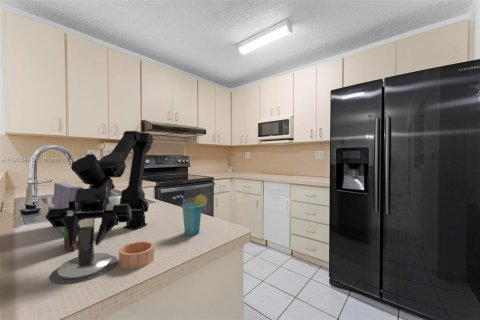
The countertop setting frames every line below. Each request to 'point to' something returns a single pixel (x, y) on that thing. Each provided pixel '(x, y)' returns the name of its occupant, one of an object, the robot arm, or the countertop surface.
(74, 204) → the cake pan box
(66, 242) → the food container
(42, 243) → the countertop surface
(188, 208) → the cup
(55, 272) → the rubber mat
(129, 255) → the terracotta bowl
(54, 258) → the countertop surface
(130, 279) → the countertop surface
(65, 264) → the steel lid
